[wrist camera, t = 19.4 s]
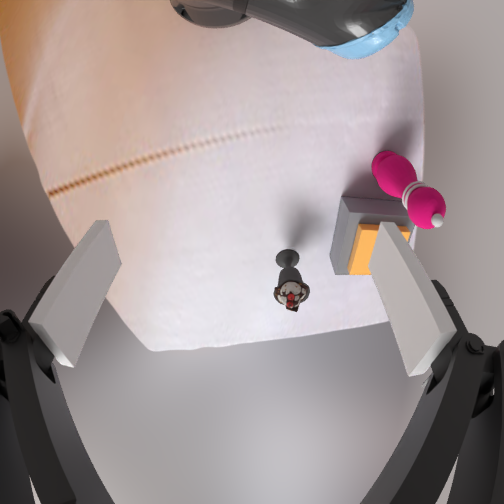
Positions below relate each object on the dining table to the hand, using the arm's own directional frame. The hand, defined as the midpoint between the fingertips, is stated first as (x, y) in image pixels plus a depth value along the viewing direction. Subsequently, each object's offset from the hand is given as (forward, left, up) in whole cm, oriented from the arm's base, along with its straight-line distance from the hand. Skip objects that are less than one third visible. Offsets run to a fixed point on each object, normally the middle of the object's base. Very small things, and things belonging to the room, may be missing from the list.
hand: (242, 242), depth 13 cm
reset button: (+22, +24, -35) cm, 48 cm away
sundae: (+30, +8, -37) cm, 48 cm away
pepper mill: (+8, +25, -37) cm, 45 cm away
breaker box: (+22, +24, -37) cm, 49 cm away
